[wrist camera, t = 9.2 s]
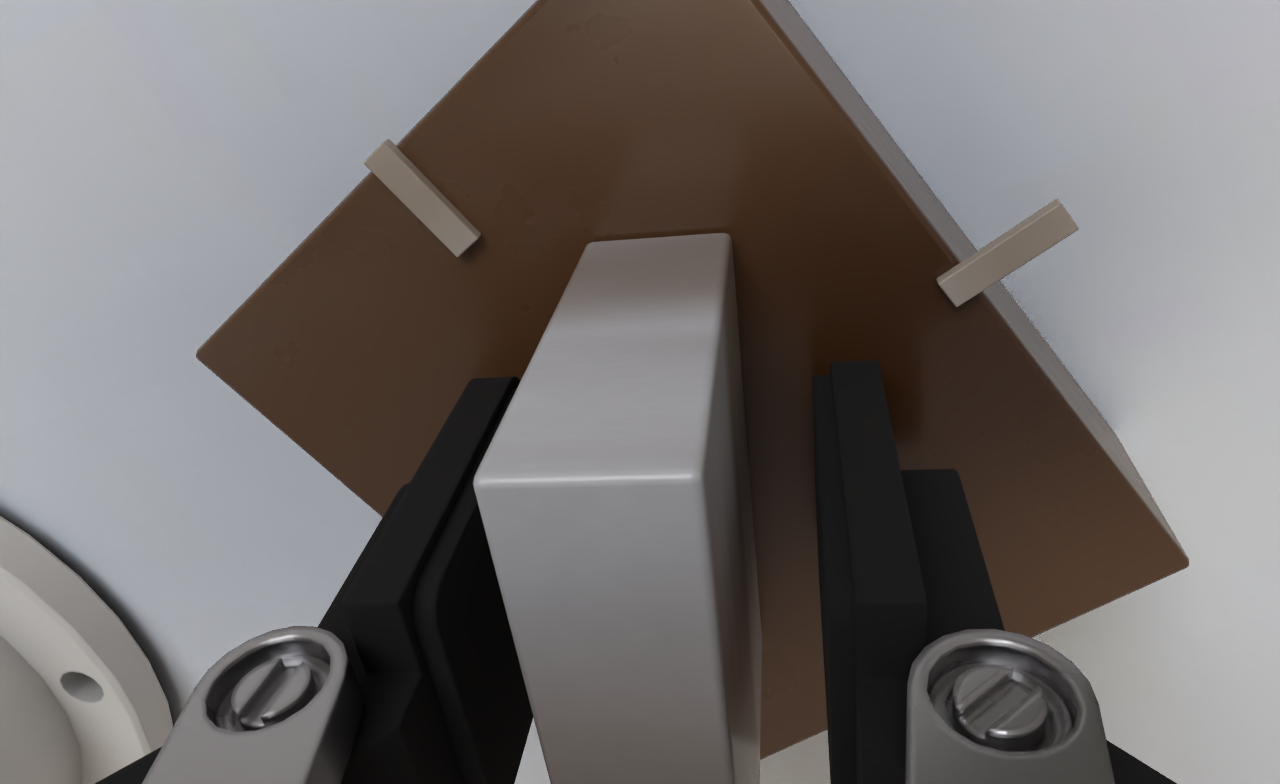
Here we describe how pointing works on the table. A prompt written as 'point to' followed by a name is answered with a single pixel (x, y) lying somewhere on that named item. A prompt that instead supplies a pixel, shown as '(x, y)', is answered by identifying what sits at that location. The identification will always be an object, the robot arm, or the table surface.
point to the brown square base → (765, 293)
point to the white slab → (633, 522)
